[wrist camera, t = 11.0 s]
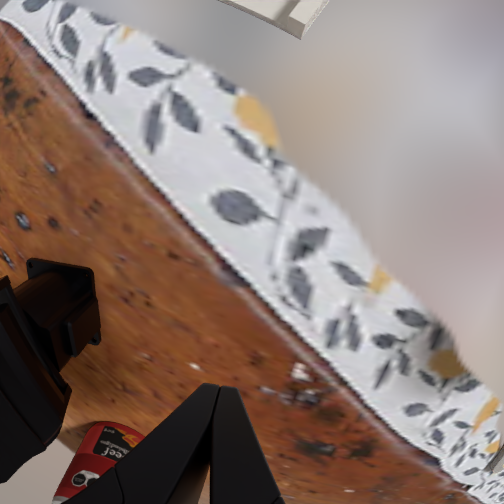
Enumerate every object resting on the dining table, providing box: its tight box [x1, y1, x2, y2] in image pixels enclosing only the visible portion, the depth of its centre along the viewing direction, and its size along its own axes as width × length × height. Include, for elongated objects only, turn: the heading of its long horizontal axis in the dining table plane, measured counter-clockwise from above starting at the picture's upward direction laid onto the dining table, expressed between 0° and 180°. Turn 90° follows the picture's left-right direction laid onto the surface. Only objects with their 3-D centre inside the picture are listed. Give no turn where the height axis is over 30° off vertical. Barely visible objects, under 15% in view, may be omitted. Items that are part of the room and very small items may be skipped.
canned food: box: [52, 422, 145, 504], centre depth 22 cm, size 8×8×11 cm
